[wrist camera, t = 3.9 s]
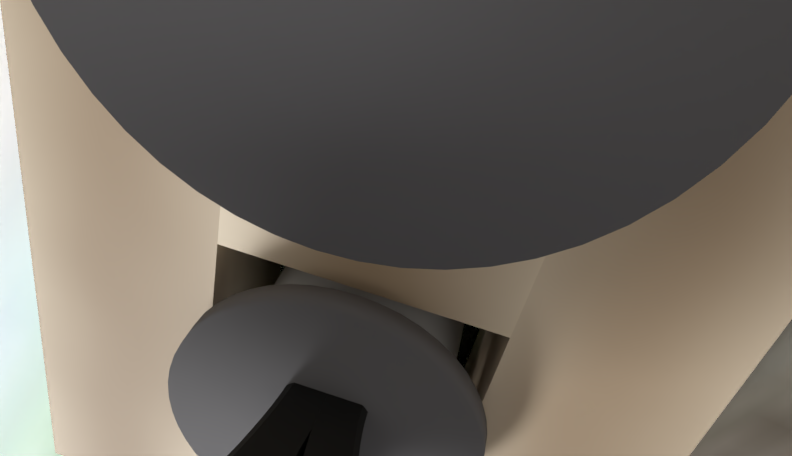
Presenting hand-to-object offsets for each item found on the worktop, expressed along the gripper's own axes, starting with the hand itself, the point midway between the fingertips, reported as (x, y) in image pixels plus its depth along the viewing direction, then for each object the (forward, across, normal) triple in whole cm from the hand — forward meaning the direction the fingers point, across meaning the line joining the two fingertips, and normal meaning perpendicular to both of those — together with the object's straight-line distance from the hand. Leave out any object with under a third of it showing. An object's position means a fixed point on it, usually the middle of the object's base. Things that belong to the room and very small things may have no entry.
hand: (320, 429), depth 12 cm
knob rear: (+4, 0, 0) cm, 4 cm away
